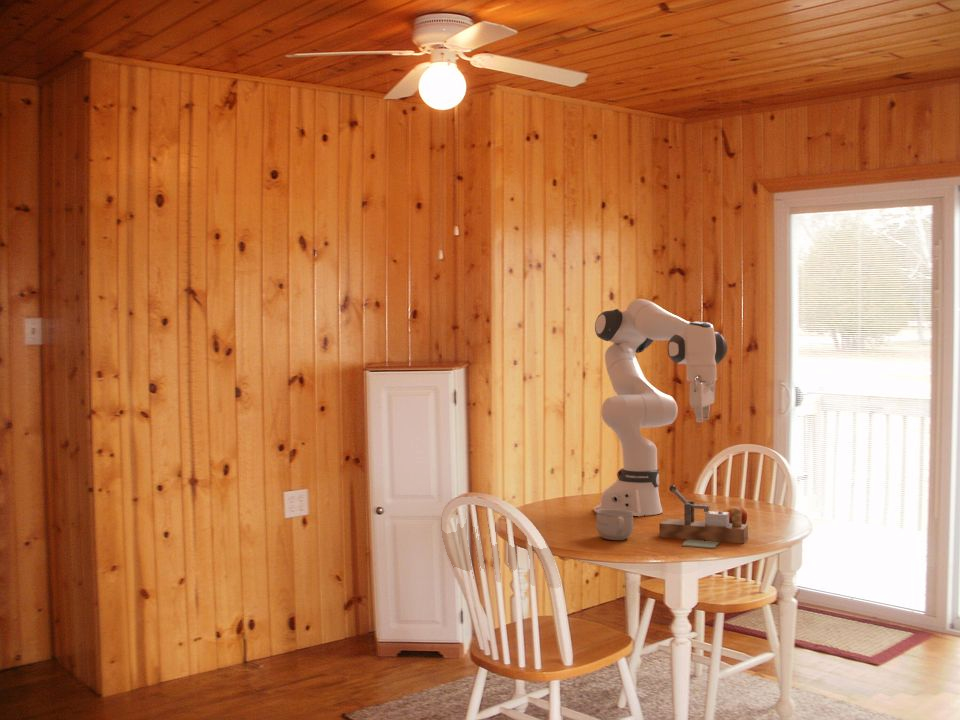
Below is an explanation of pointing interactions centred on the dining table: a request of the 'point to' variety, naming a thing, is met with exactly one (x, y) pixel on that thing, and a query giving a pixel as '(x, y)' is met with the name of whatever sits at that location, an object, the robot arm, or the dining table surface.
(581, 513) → the dining table surface
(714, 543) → the mat
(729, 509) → the fruit
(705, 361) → the robot arm
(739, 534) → the brown lever base
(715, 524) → the box with chrome knob
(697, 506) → the lever
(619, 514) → the teacup
